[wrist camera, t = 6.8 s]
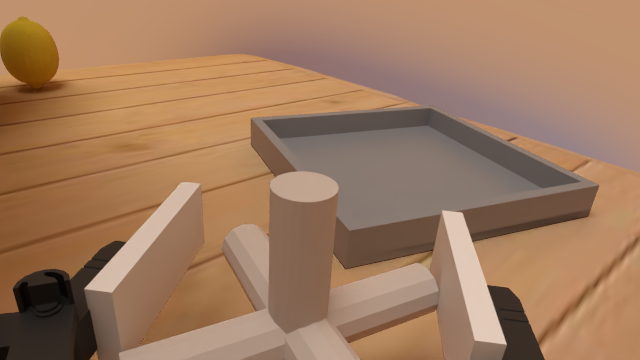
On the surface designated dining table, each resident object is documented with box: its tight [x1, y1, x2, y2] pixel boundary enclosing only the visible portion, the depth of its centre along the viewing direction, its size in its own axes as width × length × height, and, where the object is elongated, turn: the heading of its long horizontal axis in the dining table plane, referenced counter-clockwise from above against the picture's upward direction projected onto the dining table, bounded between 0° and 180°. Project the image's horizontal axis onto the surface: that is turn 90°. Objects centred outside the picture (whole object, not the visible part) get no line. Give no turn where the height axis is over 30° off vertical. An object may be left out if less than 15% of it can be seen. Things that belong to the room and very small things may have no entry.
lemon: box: [0, 17, 59, 89], centre depth 51 cm, size 6×6×8 cm
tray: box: [251, 106, 599, 269], centre depth 37 cm, size 20×20×2 cm
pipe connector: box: [119, 171, 439, 360], centre depth 14 cm, size 10×10×10 cm
